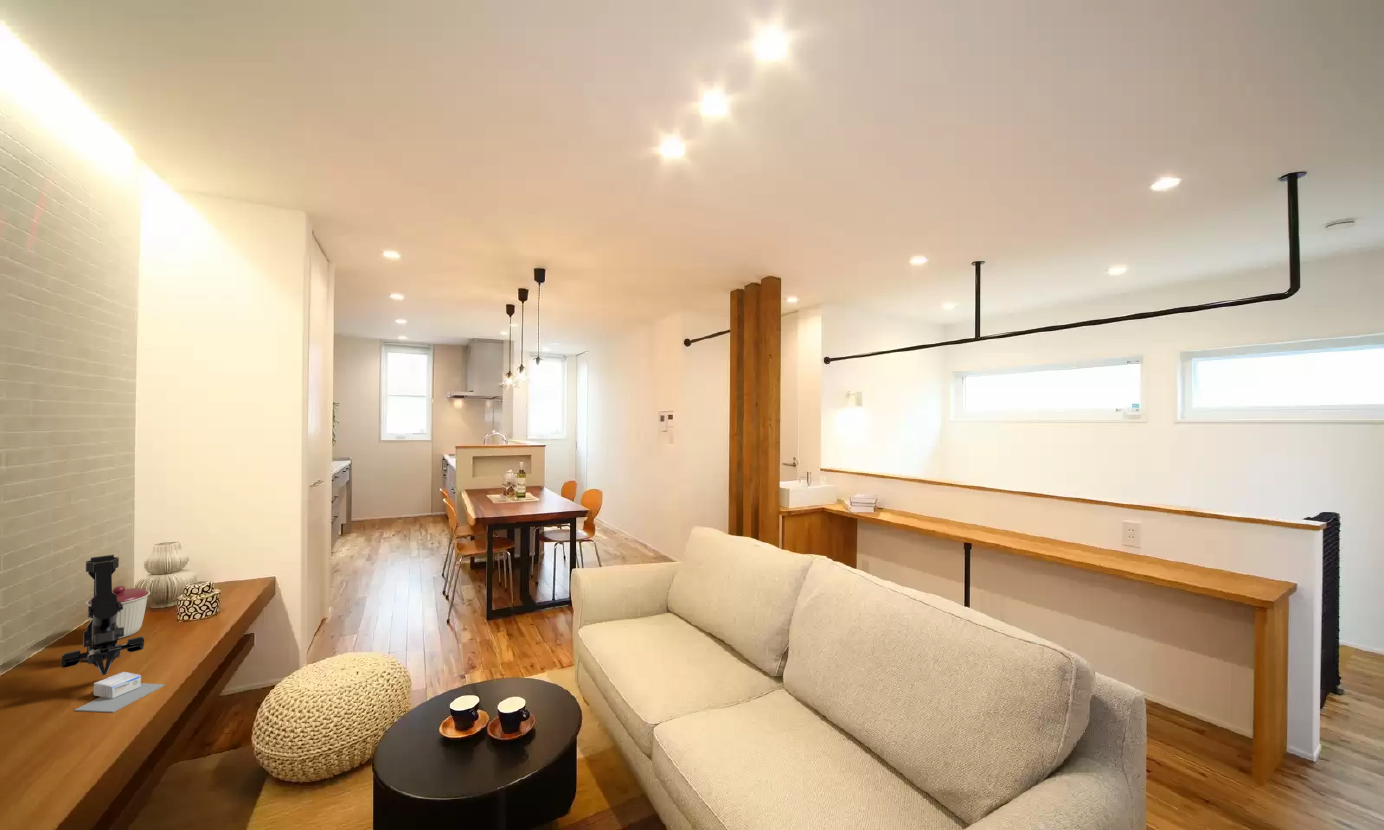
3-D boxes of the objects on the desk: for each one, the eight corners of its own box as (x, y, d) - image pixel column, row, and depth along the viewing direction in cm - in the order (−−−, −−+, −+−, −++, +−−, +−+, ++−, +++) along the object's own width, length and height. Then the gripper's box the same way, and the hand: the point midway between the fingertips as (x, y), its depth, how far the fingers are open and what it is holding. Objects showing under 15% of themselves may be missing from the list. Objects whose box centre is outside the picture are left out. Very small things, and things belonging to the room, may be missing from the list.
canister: (81, 636, 211) (83, 586, 210) (144, 622, 225) (146, 576, 225) (87, 649, 200) (88, 597, 200) (152, 634, 215) (154, 585, 215)
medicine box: (92, 695, 171) (111, 699, 169) (93, 682, 171) (111, 686, 169) (123, 683, 178) (141, 687, 177) (123, 670, 178) (141, 674, 177)
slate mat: (74, 710, 163) (74, 709, 163) (129, 683, 179) (129, 682, 179) (112, 712, 163) (112, 711, 163) (164, 685, 179) (164, 684, 179)
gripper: (62, 630, 168) (61, 674, 161) (144, 614, 183) (146, 654, 176) (62, 645, 173) (60, 689, 166) (142, 628, 188) (143, 668, 181)
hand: (104, 674), depth 172 cm, fingers closed
